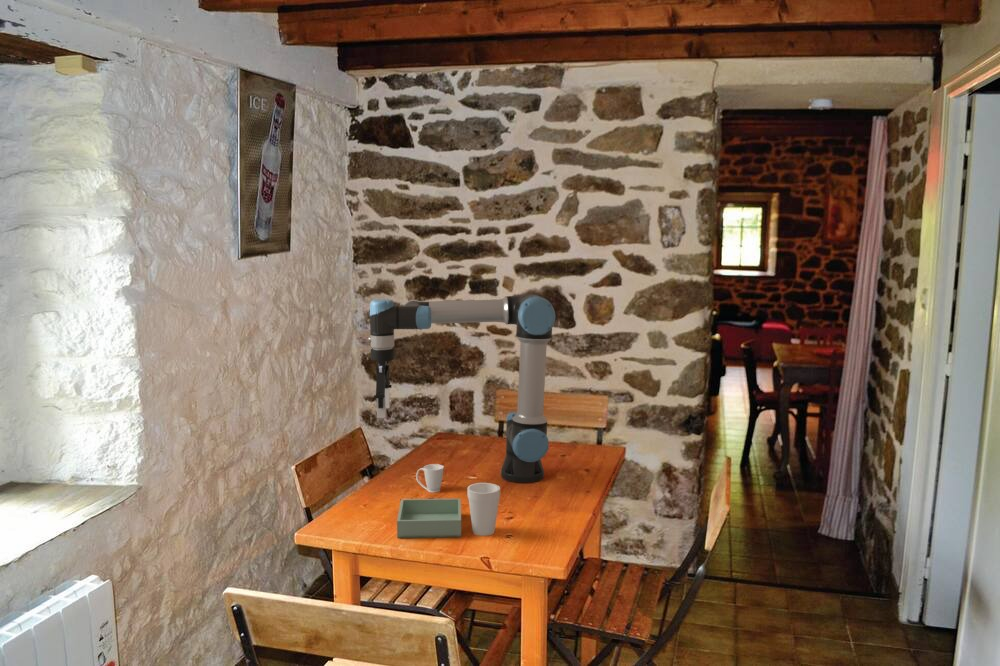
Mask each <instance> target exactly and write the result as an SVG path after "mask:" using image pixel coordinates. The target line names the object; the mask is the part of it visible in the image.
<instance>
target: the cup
mask: <svg viewBox="0 0 1000 666" xmlns="http://www.w3.org/2000/svg"><path fill="white" fill-rule="evenodd" d="M444 468H445V466H444V465H442V464H439V463H431V464H426V465H424V466H423V467H421V468H419V469H417V471H416V473H415V478H416V482H417V483H418V485H420V486H421V487H422V488H423V489H425V491H427V492H429V493H439V492H440V491H441V486H442V483H443V474H444ZM420 471H423V473H424V480H425V484H426V486H425V485H424V484H423V483H422V482H421V481H420V479H419V472H420Z"/></svg>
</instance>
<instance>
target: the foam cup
mask: <svg viewBox="0 0 1000 666" xmlns="http://www.w3.org/2000/svg"><path fill="white" fill-rule="evenodd" d="M466 491H467V494H466V495H467V498H468V504H469V512H470V519H471V521H470V522H471V527H472V528H471V529H472V533H473V534H474V535H476V536H480V537H481V536H483V537H484V536H485V537H486V536H491V535H493V534H494V533H495V530H496V524H497V518H498V517H497V516H498V509H499V502H500V498H501V487H500V486H499V485H498V484H495V483H490V482H476V483H472V484H470V485H469V486H467V490H466Z"/></svg>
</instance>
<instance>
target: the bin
mask: <svg viewBox="0 0 1000 666" xmlns="http://www.w3.org/2000/svg"><path fill="white" fill-rule="evenodd" d="M396 519H397V520H396V538H397V539H419V538H421V539H425V538H426V539H427V538H428V539H431V538H440V539H441V538H462V502H461V498H404V499H403V498H401V499H400V503H399V508H398V515H397V518H396Z"/></svg>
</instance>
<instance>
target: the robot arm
mask: <svg viewBox="0 0 1000 666" xmlns="http://www.w3.org/2000/svg"><path fill="white" fill-rule="evenodd" d="M499 322H502V323H505V324H506V325H516V327H515V328H516V331H515V333H516V334H515V337H516V338H517V340H519V341H520V347H519V349H520V350H519V368H518V388H517V389H518V390H517V410H516V411H511V412H509V413H507V415H506V419H505V422H506V426H505V427H506V430H505V431H506V434H505V435H506V436H505V437H506V438H505V444H506V445H505V452H506V453H505V458H504V460H503V464H502V466H501V469H500V477H501V479H503V480H504V481H507V482H512V483H517V484H519V483H520V484H528V483H529V484H530V483H535V482H539V481H541V480H543V479H544V477H545V469H544V467H543V463H542V459H543V458H544V457H545V456H546V454H547V453H548V450H549V445H550V441H549V438H548V418H546V417H545V415H544V404H545V383H546V366H547V364H546V363H547V345H548V343H549V342H550V341H551V340H552V337H553V326H555V325H554V324H555V322H556V311H555V309H554V307H553V305H552V303H551V302H550V301H549V300H548V299H546V298H545V297H543V296H541V295H538V294H536V293H527V294H526V293H525V294H519V295H509V296H507V295H505V296H504V297H503V298H502V299H501V298H500V299H473V300H472V299H471V300H469V299H468V300H467V299H465V300H435V301H434V300H433V301H432V300H431V301H417V300H410V301H408V302H406V303H405V304H403V305H395V304H394V300H392V299H385V298H384V299H383V298H382V299H381V298H380V299H373V300H372V301H370V304H369V328H370V329H369V330H370V331H369V333H370V337H368V341H369V342H370V348H371V349H370V360H371V361H373V362H377V365H376V367H375V372H376V375H375V377H376V381H375V383H376V384H375V395H374V396H373V398H374V399H376V419H386V417H387V415H386V412H387V411H386V409H390V408H391V407H390V406H391V405H390V403H391V400H390V397H391V396H390V389H392V387H393V386H392V384H391V382H390V380H391V379H390V365H389V362H392V361H393V360H394V359H395V349H394V347H395V330H420V331H422V330H429V329H430V328H432V324H459V323H460V324H463V323H466V324H467V323H468V324H469V323H499ZM519 341H518V342H519ZM394 361H395V360H394Z"/></svg>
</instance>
